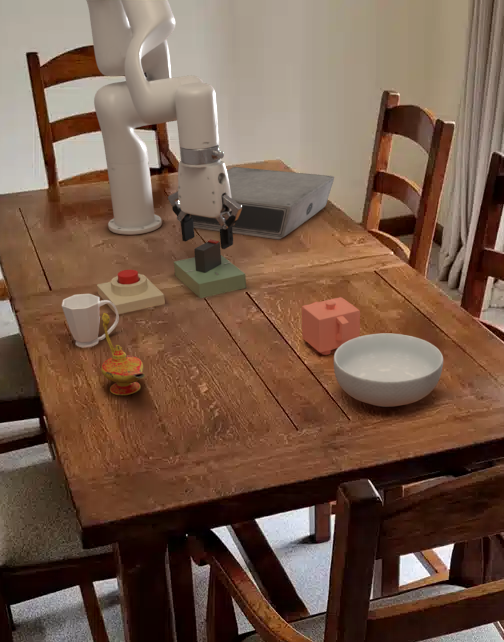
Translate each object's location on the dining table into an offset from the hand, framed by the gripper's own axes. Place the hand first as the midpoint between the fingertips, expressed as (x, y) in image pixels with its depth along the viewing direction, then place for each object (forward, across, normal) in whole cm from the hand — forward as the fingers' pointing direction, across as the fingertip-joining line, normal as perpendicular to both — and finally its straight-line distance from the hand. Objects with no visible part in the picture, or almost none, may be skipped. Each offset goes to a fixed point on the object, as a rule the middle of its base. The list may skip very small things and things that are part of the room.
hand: (207, 243), depth 189 cm
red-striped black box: (+5, 0, 0) cm, 5 cm away
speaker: (+8, +15, -37) cm, 41 cm away
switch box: (+8, +9, +14) cm, 19 cm away
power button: (+5, +9, +15) cm, 18 cm away
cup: (+9, +2, +32) cm, 34 cm away
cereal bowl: (+9, -54, +24) cm, 60 cm away
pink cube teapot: (+9, -36, +13) cm, 39 cm away
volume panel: (+8, 0, 0) cm, 8 cm away
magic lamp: (+9, -17, +44) cm, 48 cm away
